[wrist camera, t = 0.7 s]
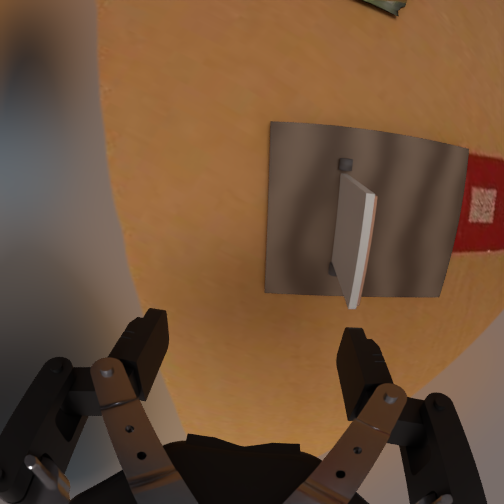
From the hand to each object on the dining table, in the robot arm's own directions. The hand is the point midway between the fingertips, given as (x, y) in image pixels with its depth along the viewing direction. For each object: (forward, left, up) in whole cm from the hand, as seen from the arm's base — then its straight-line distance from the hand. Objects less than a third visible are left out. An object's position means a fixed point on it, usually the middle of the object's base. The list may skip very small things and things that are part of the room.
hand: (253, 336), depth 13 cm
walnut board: (-12, +1, -24) cm, 26 cm away
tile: (-7, +1, -16) cm, 18 cm away
